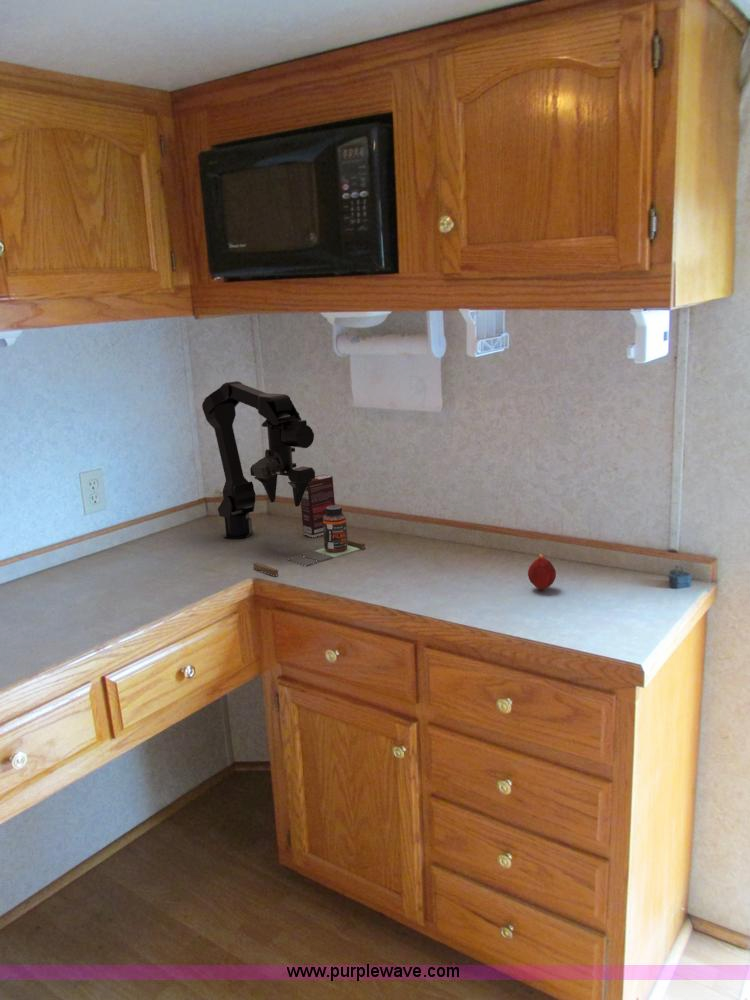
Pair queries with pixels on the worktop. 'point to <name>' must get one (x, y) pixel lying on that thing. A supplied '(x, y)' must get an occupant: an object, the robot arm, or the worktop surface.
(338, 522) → the supplement bottle
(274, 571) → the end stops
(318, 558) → the pads
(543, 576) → the onion
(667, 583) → the worktop surface
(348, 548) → the pad
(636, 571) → the worktop surface
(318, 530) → the supplement box
